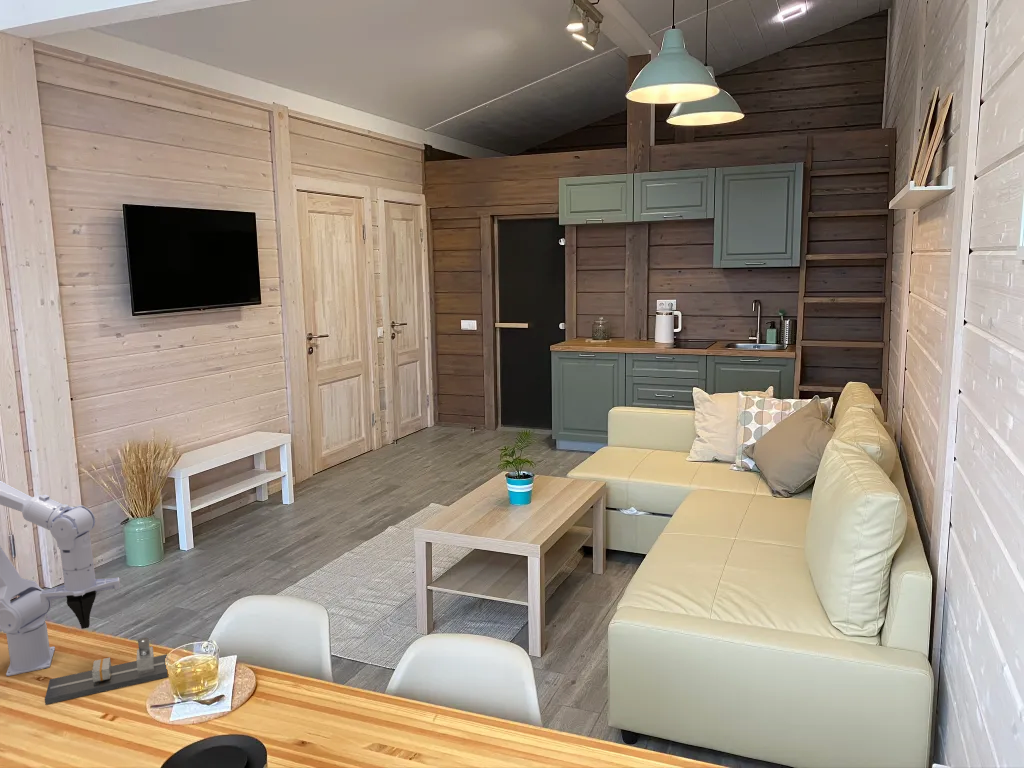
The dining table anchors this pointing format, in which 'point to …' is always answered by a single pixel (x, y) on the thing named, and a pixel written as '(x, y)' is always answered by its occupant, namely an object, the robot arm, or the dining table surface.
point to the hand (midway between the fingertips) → (85, 626)
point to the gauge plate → (119, 677)
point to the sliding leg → (101, 669)
